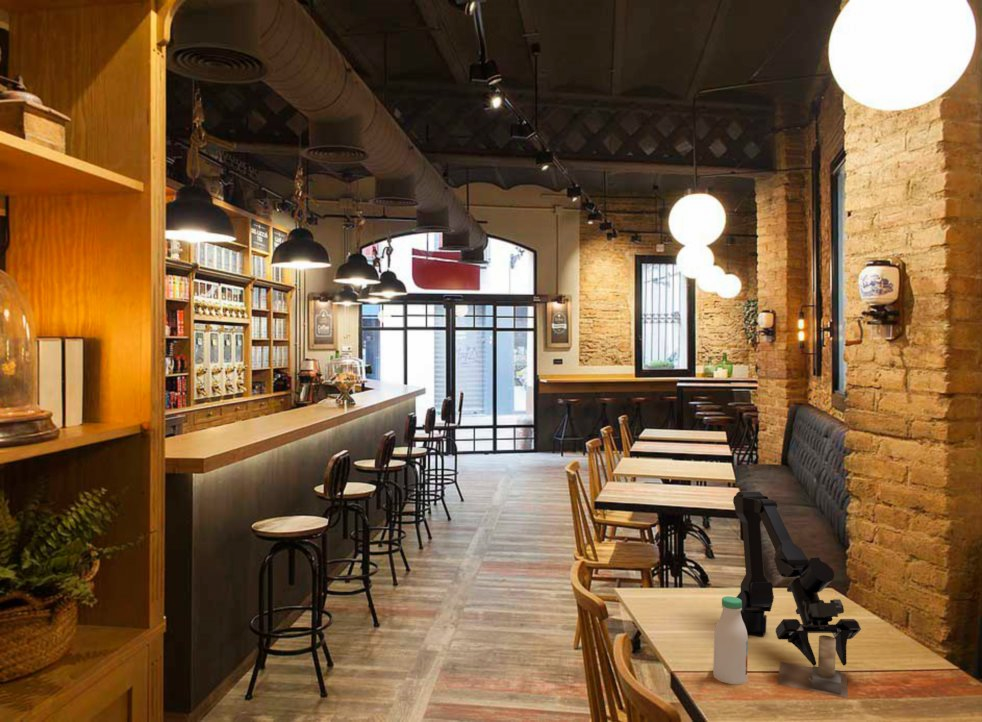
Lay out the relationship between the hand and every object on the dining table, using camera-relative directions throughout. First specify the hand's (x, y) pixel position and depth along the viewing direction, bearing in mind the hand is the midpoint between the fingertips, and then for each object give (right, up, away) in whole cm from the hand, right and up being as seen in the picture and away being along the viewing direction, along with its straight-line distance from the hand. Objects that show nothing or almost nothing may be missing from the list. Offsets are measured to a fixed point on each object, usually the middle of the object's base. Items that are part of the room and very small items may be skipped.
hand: (829, 664), depth 167 cm
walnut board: (-2, -6, +5) cm, 8 cm away
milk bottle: (-22, -6, +5) cm, 23 cm away
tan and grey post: (0, -5, +1) cm, 6 cm away
